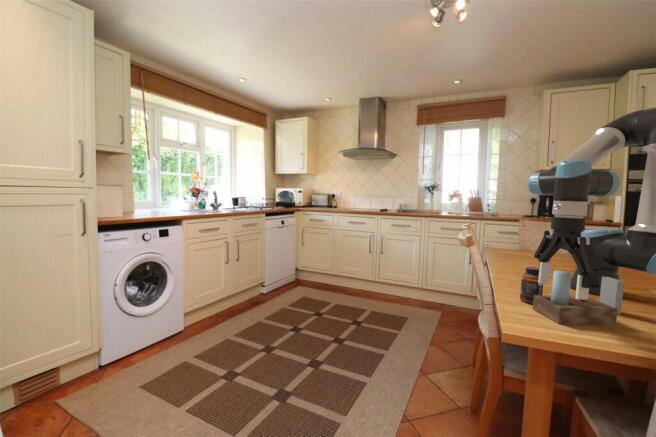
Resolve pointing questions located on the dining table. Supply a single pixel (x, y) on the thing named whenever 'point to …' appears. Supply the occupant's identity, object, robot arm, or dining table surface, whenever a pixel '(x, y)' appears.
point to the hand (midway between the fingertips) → (560, 290)
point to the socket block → (576, 311)
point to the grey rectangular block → (612, 292)
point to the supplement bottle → (530, 285)
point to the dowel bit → (561, 287)
